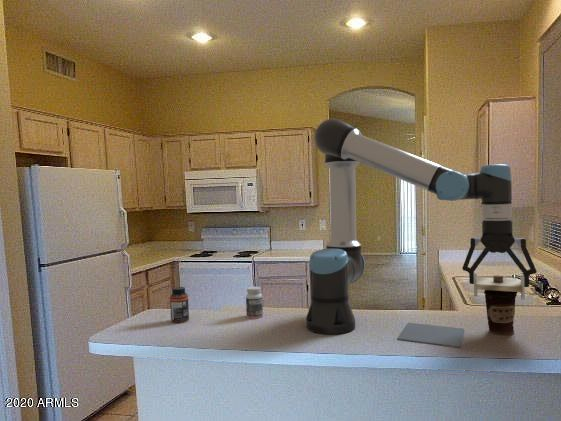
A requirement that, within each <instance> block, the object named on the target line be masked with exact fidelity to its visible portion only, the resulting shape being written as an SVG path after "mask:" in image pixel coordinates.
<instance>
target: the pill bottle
mask: <svg viewBox="0 0 561 421" xmlns="http://www.w3.org/2000/svg"><path fill="white" fill-rule="evenodd" d="M261 288H262V287H261V286H248V287H247V288H246V292H247V294H246V295H245V304H246V306H245V307H246V308H245V310H246V317H247V318H248V319H252V318H255V319H259V318H262V317H263V316H264V302H263V301H264V300H263V299H264V298H263V294H262V293H261V292H262V290H261Z"/></svg>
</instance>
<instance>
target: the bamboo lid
mask: <svg viewBox="0 0 561 421" xmlns="http://www.w3.org/2000/svg"><path fill="white" fill-rule="evenodd" d="M476 289H477V290H480V291H482V290H483V291H485V290H495V291H512V292H517V293H521V292H522V285H521V279H520V278H519V279H518V278H504V275H499V274H497V275H496V274H495V275H493V277H480V276H479V277H478V276H477V282H476Z"/></svg>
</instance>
